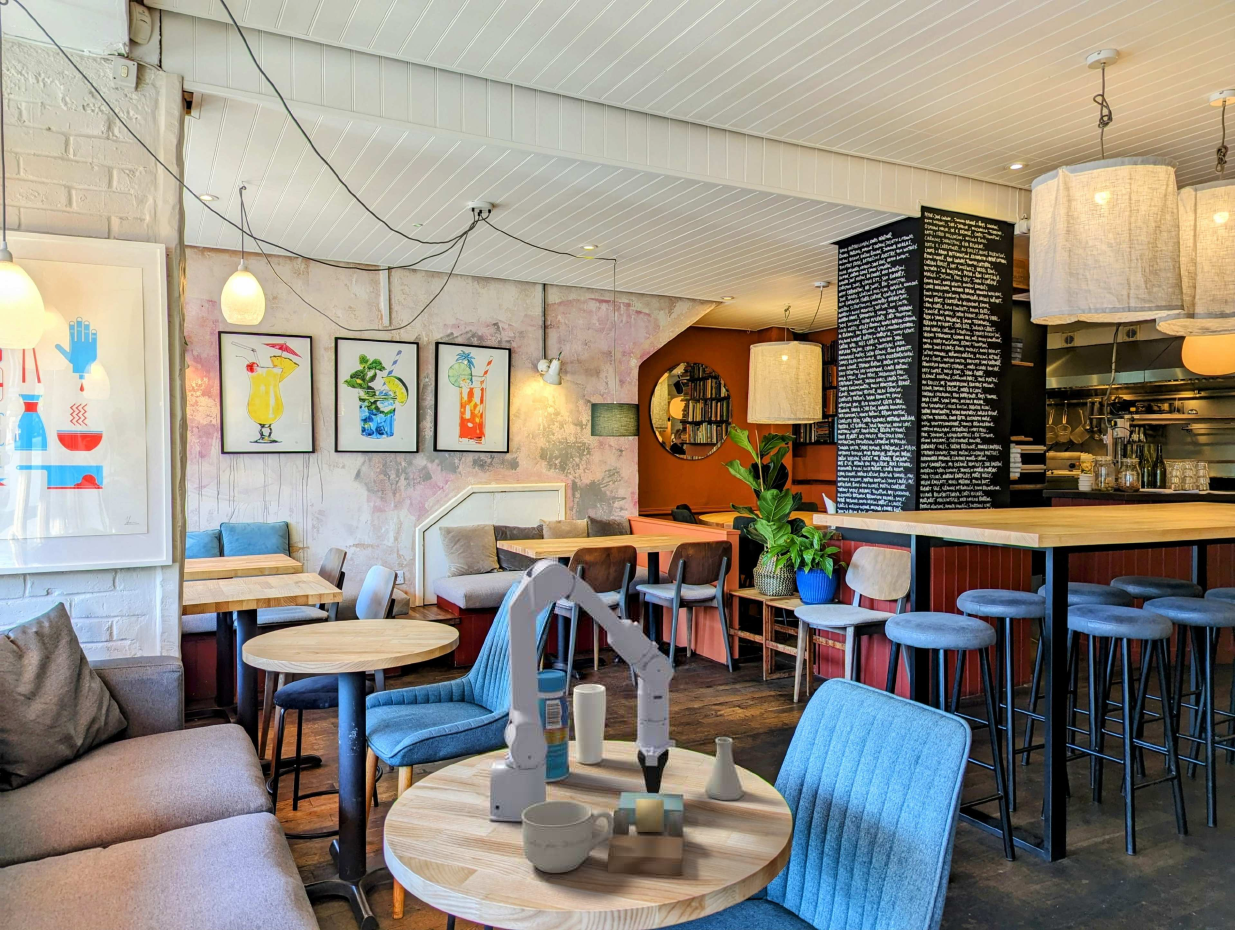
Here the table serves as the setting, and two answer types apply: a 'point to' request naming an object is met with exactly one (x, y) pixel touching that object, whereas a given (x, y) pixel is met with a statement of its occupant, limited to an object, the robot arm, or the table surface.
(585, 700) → the drinking glass
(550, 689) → the beverage bottle
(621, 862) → the fixed hinge leaf
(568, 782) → the table surface
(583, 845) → the teacup
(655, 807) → the loose hinge leaf
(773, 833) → the table surface
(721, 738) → the flask
